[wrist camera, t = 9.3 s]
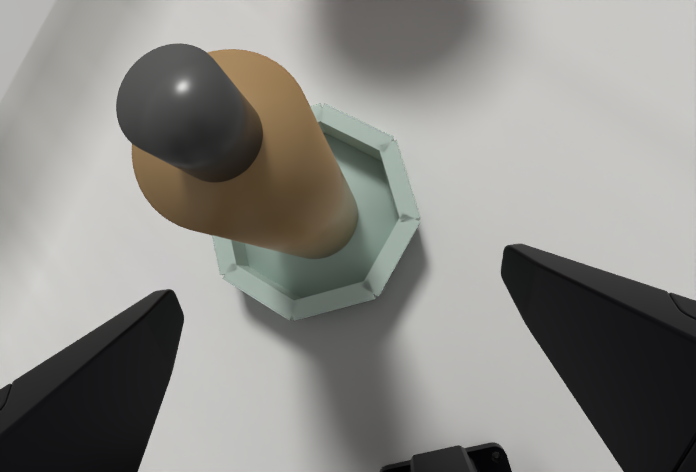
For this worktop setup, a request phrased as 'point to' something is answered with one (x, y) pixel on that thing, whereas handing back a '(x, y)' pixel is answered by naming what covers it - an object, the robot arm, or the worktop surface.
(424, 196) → the worktop surface
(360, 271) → the dish
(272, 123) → the bottle
